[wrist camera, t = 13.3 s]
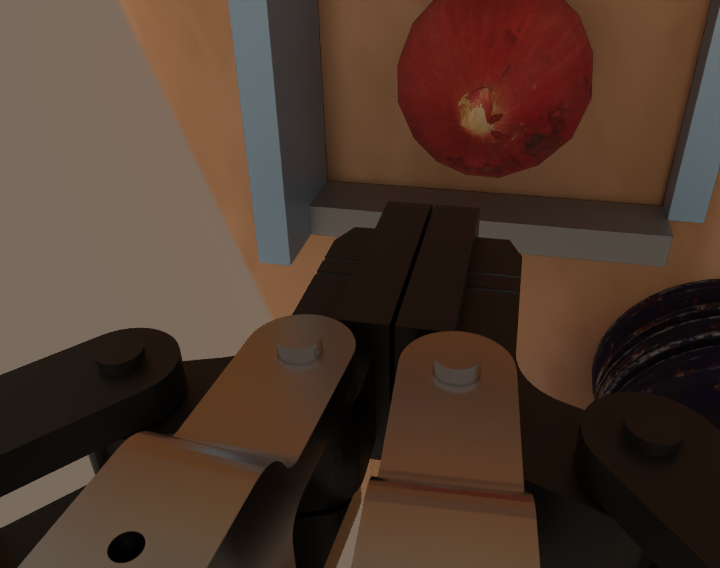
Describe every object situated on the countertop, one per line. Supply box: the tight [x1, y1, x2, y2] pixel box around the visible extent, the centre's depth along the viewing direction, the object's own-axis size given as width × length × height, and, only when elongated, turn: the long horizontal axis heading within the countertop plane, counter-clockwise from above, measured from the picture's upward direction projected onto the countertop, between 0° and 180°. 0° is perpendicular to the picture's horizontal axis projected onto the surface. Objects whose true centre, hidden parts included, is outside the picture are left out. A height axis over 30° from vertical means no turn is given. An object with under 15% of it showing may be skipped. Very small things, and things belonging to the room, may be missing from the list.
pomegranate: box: [398, 0, 593, 178], centre depth 20 cm, size 6×6×8 cm
